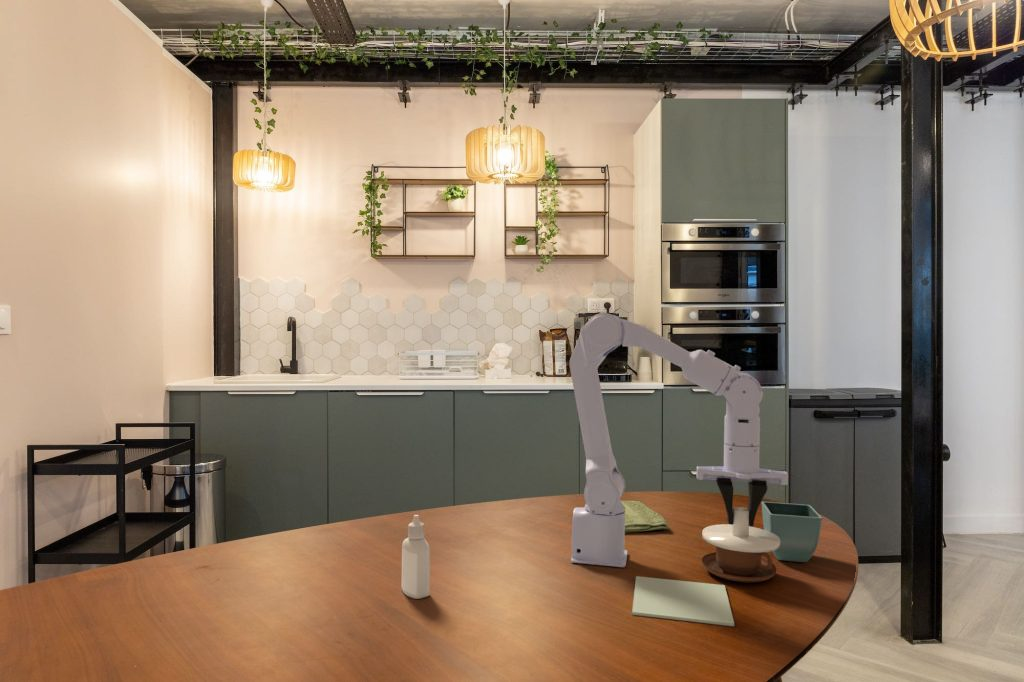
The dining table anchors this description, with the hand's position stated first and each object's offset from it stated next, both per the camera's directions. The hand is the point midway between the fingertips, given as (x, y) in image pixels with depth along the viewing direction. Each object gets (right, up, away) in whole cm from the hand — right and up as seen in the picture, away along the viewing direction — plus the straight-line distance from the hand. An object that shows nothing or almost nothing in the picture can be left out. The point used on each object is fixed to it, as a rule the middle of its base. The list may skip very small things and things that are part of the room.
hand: (740, 523), depth 108 cm
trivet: (-13, -9, -11) cm, 19 cm away
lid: (0, -3, -1) cm, 3 cm away
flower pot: (+12, -9, +8) cm, 17 cm away
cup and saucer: (0, -9, 0) cm, 9 cm away
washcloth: (-14, -9, +30) cm, 34 cm away
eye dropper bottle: (-54, -8, -10) cm, 55 cm away
